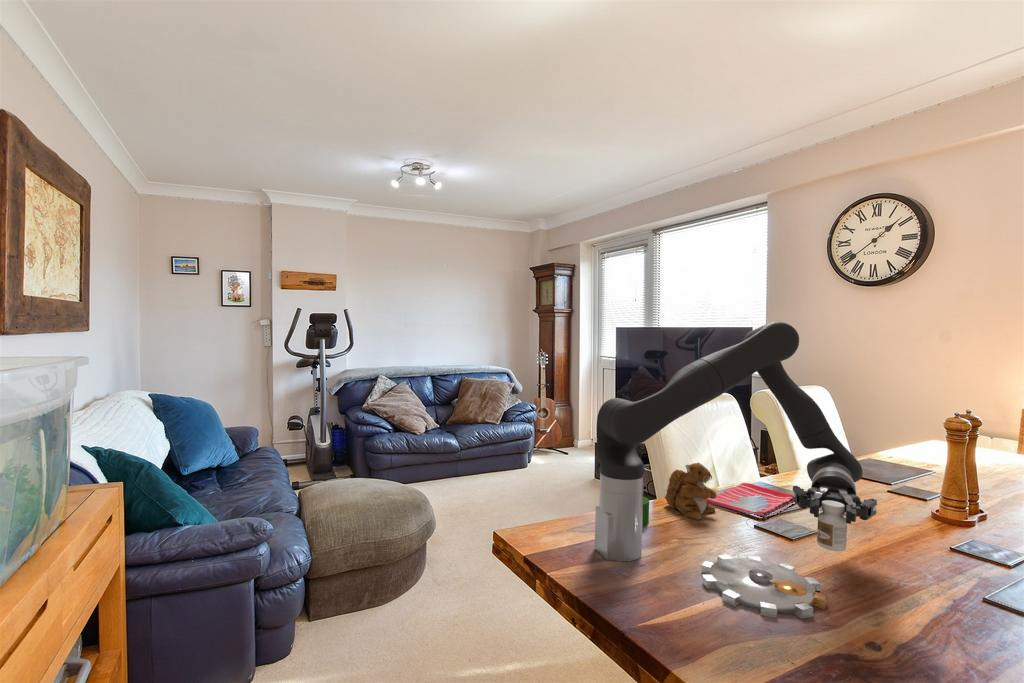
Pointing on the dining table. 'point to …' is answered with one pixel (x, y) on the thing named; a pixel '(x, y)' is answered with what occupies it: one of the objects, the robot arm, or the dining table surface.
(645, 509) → the candle
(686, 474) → the stuffed squirrel
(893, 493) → the dining table surface
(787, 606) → the sprocket plate
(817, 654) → the dining table surface
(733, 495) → the dish towel
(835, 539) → the pill bottle
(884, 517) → the dining table surface
